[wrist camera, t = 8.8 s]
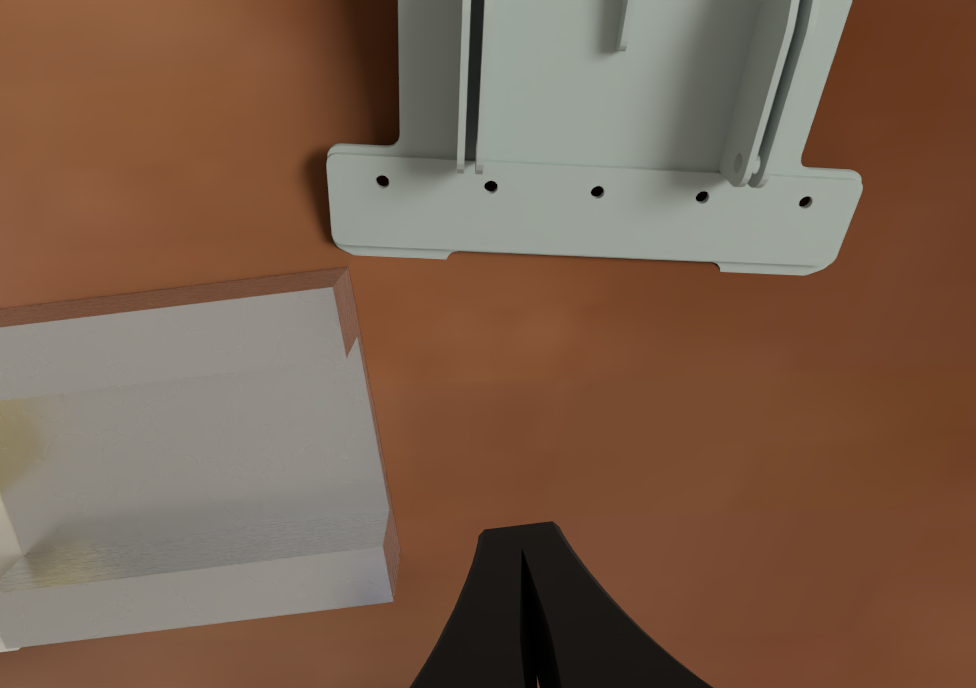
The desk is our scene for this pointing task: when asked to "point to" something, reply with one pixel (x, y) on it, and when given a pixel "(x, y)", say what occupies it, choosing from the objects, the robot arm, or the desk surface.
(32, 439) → the aluminium channel
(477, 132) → the metal bracket
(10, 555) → the tray
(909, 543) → the desk surface
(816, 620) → the desk surface
